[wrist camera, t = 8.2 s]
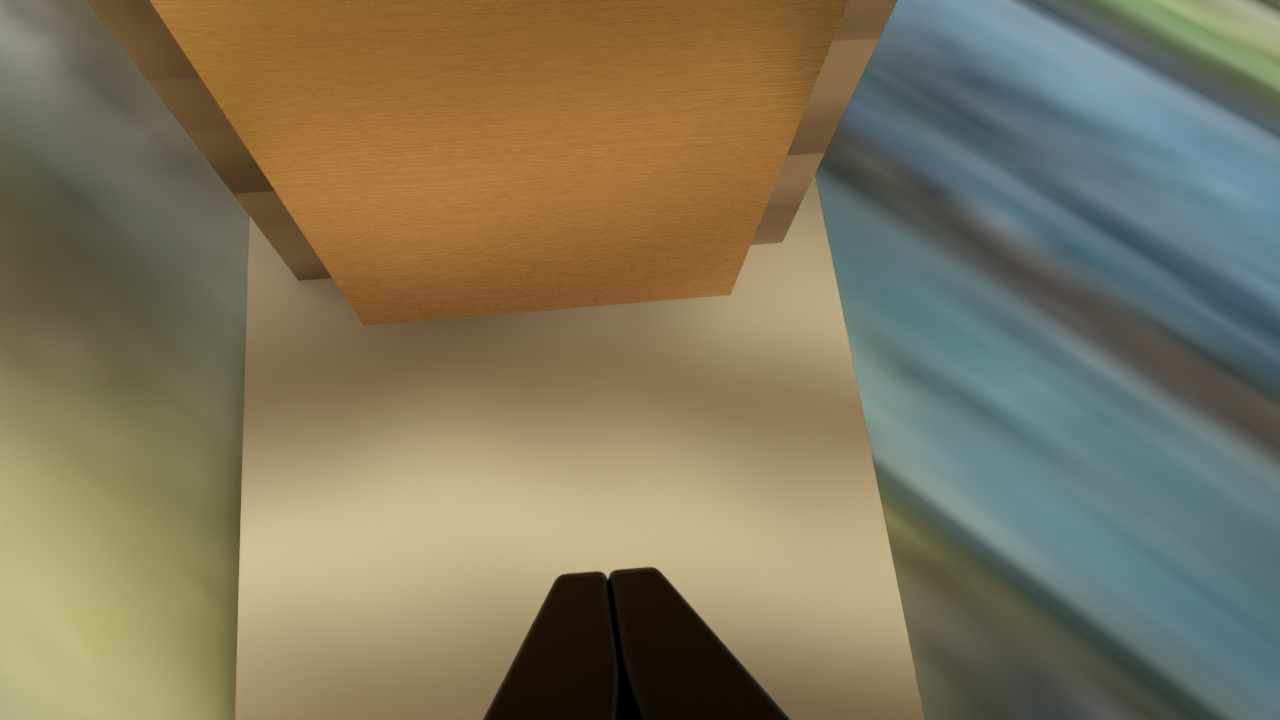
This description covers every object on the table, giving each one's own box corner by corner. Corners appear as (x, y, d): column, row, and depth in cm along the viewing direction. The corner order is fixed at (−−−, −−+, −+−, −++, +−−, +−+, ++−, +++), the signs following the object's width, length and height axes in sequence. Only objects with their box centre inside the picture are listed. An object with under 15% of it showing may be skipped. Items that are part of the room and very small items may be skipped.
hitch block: (933, 858, 16) (1441, 1147, 7) (250, 959, 15) (-335, 1486, 5) (773, 38, 22) (919, -445, 12) (269, 66, 20) (0, -442, 11)
